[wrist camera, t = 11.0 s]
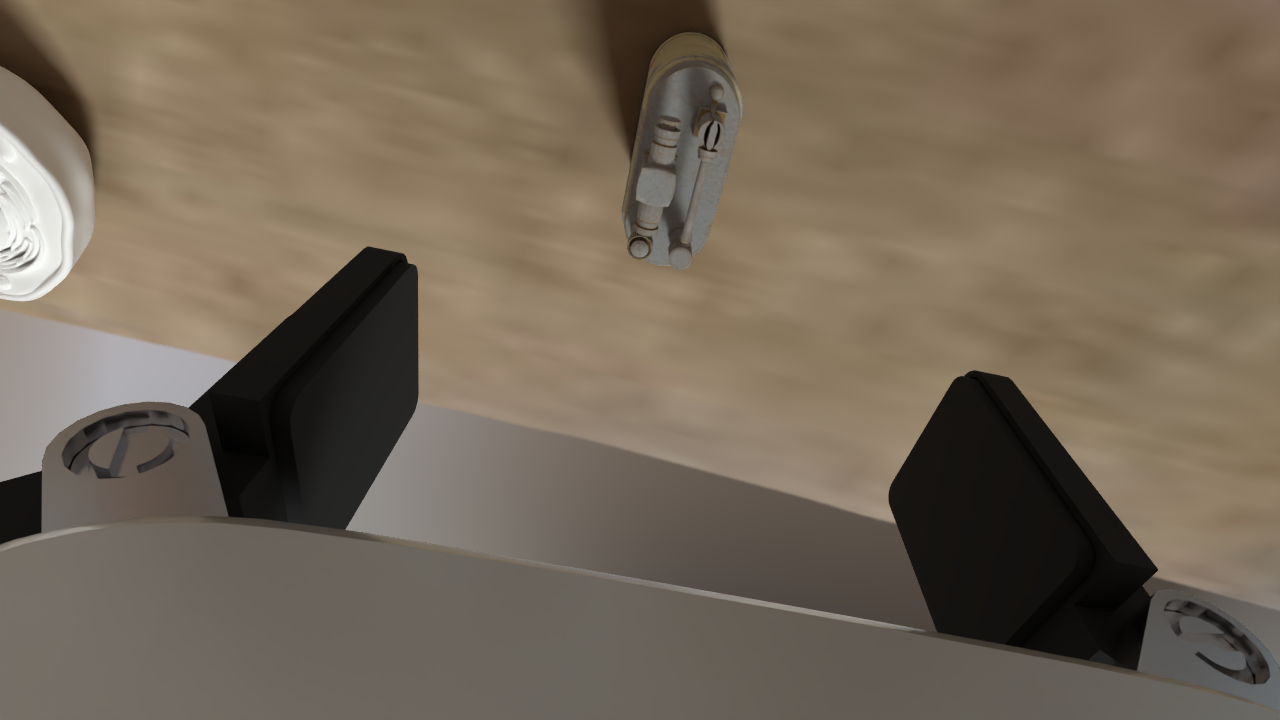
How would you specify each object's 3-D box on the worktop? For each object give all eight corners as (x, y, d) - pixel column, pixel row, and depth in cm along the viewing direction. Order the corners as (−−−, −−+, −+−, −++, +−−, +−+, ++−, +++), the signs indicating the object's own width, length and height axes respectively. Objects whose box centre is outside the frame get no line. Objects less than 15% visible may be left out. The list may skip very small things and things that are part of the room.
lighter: (658, 22, 25) (648, 54, 17) (747, 44, 25) (781, 85, 17) (625, 190, 29) (604, 284, 21) (703, 207, 29) (713, 306, 21)
